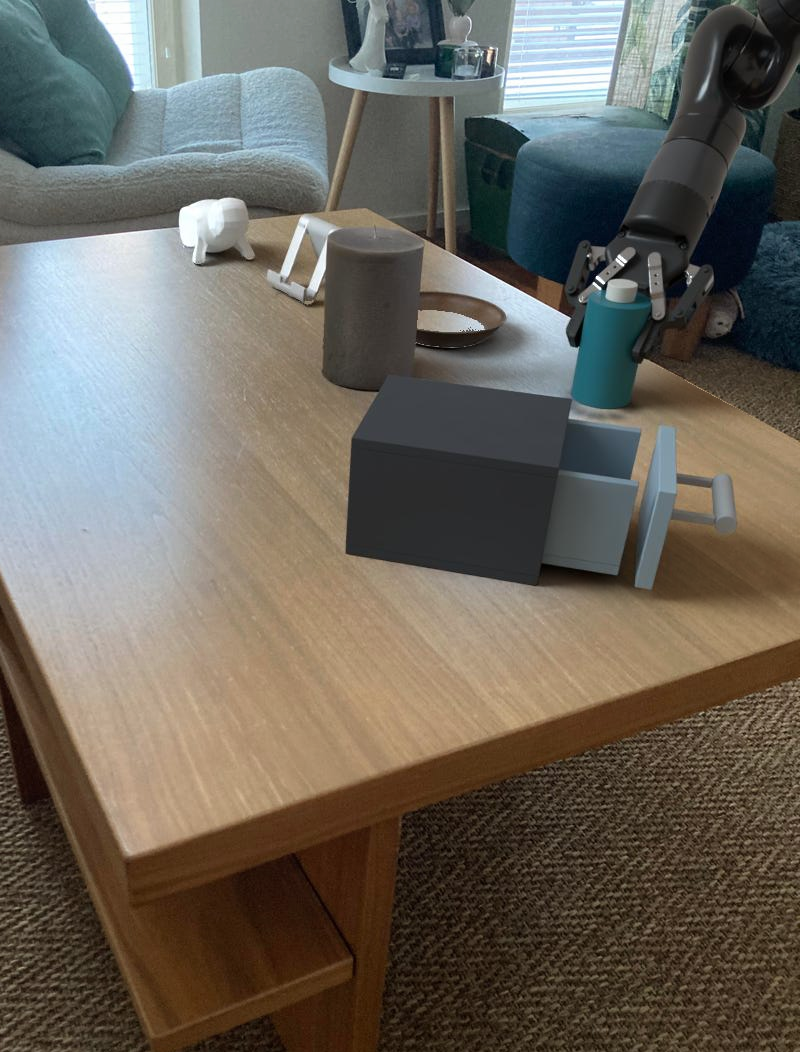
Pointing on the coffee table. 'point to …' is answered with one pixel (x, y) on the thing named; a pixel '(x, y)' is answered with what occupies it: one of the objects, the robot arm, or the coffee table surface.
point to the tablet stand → (318, 238)
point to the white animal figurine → (215, 227)
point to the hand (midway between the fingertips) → (604, 351)
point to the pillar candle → (370, 305)
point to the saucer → (465, 306)
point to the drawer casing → (455, 477)
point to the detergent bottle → (609, 345)
